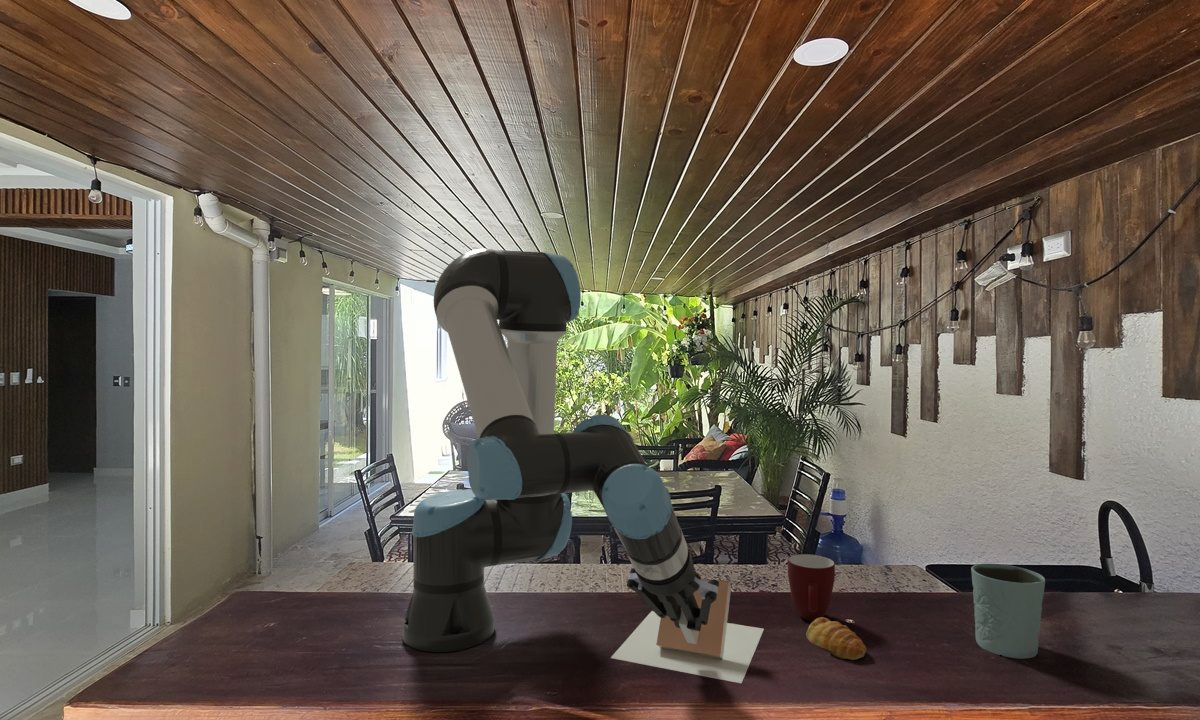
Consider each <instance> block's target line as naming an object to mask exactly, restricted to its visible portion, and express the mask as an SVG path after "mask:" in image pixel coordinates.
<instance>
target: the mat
mask: <svg viewBox="0 0 1200 720" xmlns="http://www.w3.org/2000/svg"><path fill="white" fill-rule="evenodd" d="M660 619H661V618H660V617H659V616H658V615H657V614H656V613H655V612H654V611H653V610H651V611H650V612H649V613H648V615H647V616H646V617H645V618H644V619H643V620H642V621H641V622H640V624H639V625H638V626H637V627H636V628H635V629H634V630H633V632H632V633H630V635H629V636H628V637H627V638H626V639H625V641H624V642H623V643H622V644H621V645H620V647H618V649H616V651H615V652H614V653H613V654H612V655H611V657H610V659H613V660H618V661H624V662H629V663H634V664H639V665H645V666H650V667H654V668H659V669H665V670H670V671H673V672H674V671H675V672H679V673H680V672H681V673H685V674H692V675H695V676H700V677H706V678H710V679H711V678H712V679H716V680H721V681H727V682H732V683H737V684H740V685H741V684H743V680H744V679H745V676H746V673H747V671H748V670H749V666H750V665H751V662H752V659H753V657H754V654H755V652H756V649H757V647H758V645H759V642H760V640H761V637H762V635H763V633H764V630H765V629H764V628H762V627H761V628H760V627H755V626H747V625H742V624H737V623H732V622H731V623H729V622H727V628H726V637H725V646H724V654H723V659H718V658H712V657H707V656H702V655H696V654H691V653H685V652H680V651H674V650H669V649H663V648H660V647H658V646H657V645H656V644H657V638H658V632H659V625H660Z"/></svg>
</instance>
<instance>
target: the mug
mask: <svg viewBox="0 0 1200 720" xmlns="http://www.w3.org/2000/svg"><path fill="white" fill-rule="evenodd" d="M835 568H836V567H835V561H833V560H832V559H830V558H828V557H825V556H823V555H822V556H821V555H816V554H806V553H805V554H803V553H802V554H801V553H800V554H793V555H791V556H789V557H788V558H787V577H788V578H787V579H788V583H789V590H790V595H791V600H792V603H793V605H794V608H795V610H796V611H797V613H798V616H799V617H800V618H802V619H804V620H808V621H812V622H814V621H815V619H817V618H821V617H823V618H824V616H825V615H826V613H827V611H828V610H829V607H830V606H831V600H832V595H833V589H834V584H835V578H836V572H835V571H836V569H835Z"/></svg>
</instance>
